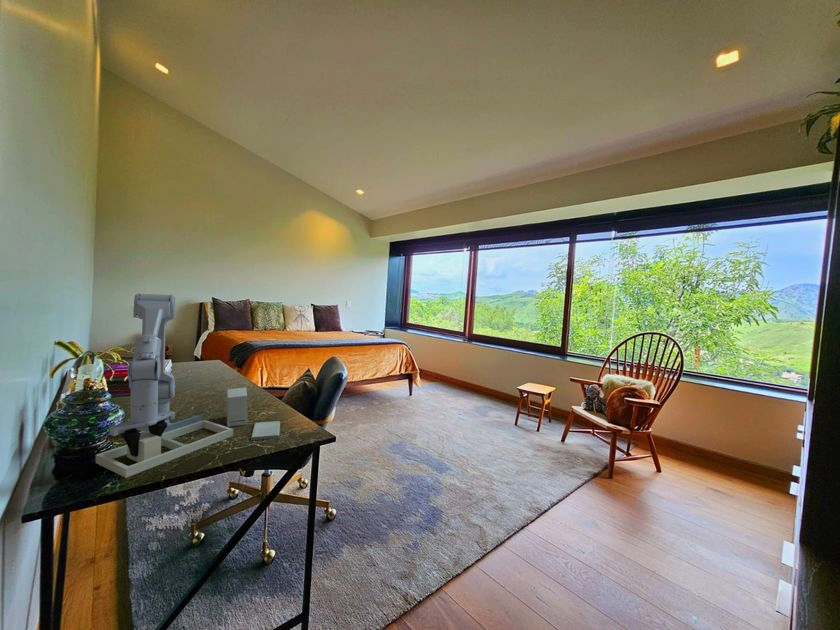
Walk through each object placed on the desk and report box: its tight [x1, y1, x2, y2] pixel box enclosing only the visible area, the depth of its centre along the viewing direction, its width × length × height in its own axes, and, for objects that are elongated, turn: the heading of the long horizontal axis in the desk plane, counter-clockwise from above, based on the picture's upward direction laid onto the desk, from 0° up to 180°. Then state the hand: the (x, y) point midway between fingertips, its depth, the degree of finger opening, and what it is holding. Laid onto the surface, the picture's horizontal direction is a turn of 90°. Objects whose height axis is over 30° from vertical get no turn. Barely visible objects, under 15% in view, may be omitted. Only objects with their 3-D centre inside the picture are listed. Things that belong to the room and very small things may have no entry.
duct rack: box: [95, 414, 234, 478], centre depth 100 cm, size 15×29×4 cm, turn 156°
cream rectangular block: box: [126, 431, 162, 463], centre depth 94 cm, size 8×4×6 cm, turn 66°
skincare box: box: [226, 386, 248, 428], centre depth 123 cm, size 10×6×10 cm, turn 29°
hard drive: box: [250, 420, 281, 441], centre depth 115 cm, size 2×8×12 cm
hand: (144, 452), depth 94 cm, fingers closed on cream rectangular block, 4 cm apart
